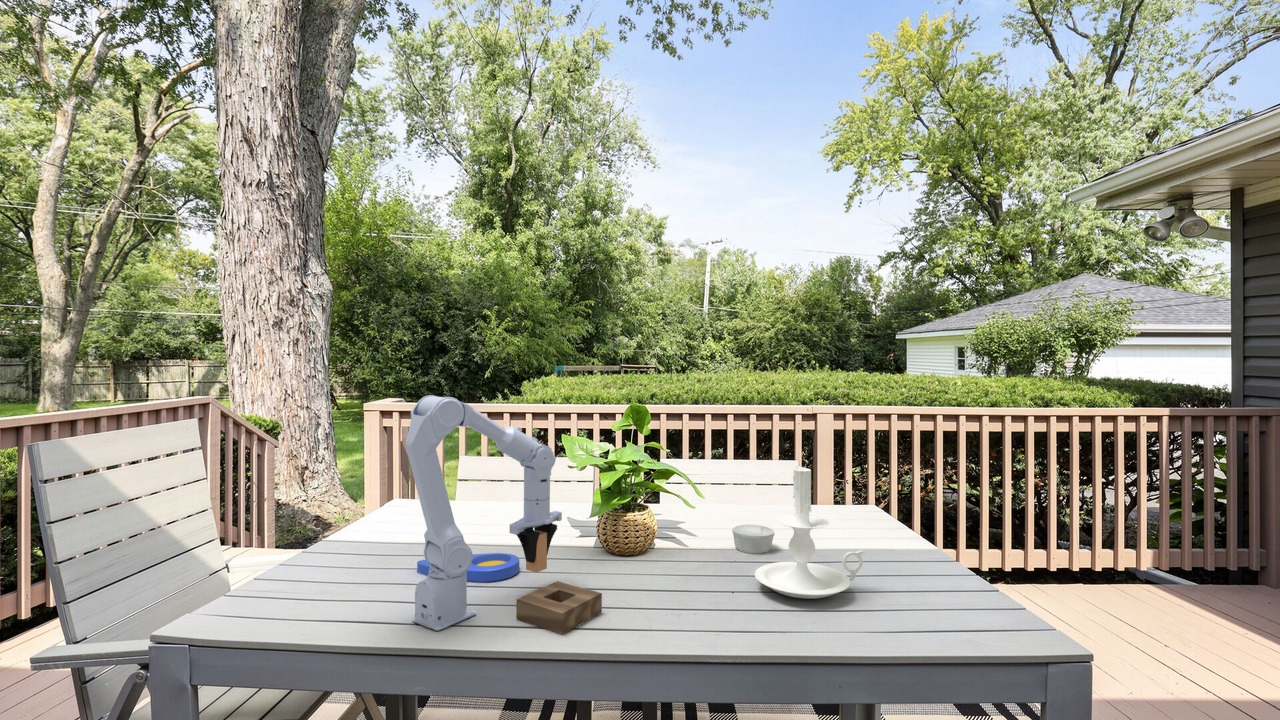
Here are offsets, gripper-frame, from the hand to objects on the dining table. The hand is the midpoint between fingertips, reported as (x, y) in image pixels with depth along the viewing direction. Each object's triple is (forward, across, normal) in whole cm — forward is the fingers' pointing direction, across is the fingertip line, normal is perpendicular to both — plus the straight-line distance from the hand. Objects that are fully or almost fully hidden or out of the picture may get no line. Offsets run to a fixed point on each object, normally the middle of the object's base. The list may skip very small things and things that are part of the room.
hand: (536, 559), depth 135 cm
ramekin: (+7, +56, -27) cm, 63 cm away
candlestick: (+7, +35, -50) cm, 62 cm away
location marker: (+8, 0, +22) cm, 24 cm away
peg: (+2, 0, 0) cm, 2 cm away
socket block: (+7, -7, -13) cm, 16 cm away
